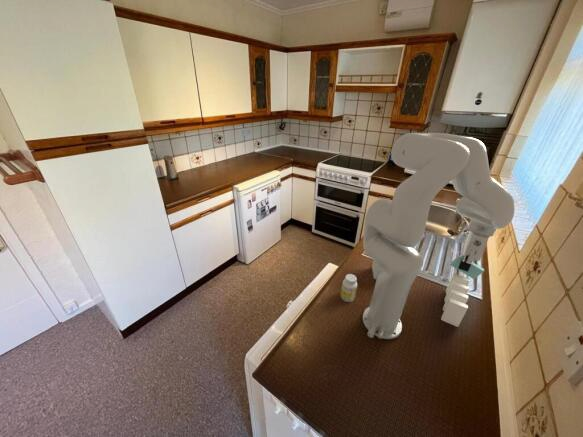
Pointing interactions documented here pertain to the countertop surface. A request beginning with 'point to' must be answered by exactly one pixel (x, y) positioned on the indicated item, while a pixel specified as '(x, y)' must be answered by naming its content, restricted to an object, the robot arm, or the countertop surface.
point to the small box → (377, 269)
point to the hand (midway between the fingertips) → (463, 268)
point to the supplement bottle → (349, 288)
